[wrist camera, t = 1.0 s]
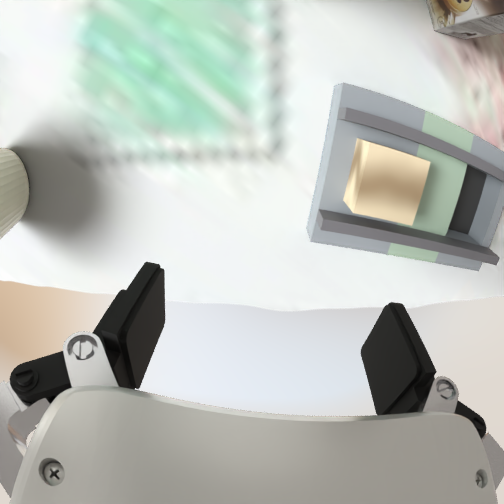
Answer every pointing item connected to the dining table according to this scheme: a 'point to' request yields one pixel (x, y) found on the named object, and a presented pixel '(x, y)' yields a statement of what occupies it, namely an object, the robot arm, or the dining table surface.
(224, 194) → the dining table surface
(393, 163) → the maple block
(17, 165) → the canister
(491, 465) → the robot arm
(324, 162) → the lane deck
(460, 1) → the coffee box
